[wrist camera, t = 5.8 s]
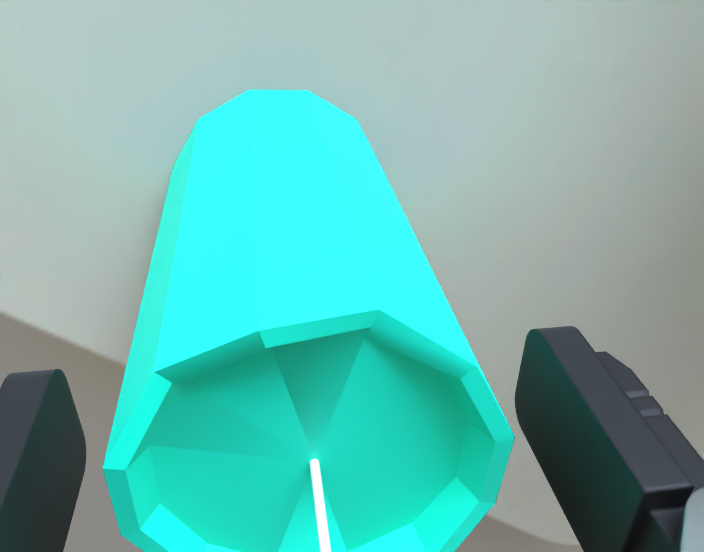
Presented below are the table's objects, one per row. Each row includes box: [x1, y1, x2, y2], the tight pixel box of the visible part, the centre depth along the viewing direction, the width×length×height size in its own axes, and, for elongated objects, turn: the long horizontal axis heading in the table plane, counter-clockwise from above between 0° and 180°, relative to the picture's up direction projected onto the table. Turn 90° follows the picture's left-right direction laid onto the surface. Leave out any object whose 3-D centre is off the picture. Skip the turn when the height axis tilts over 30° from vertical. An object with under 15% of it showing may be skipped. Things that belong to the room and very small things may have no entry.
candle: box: [103, 90, 515, 552], centre depth 13 cm, size 6×6×12 cm
